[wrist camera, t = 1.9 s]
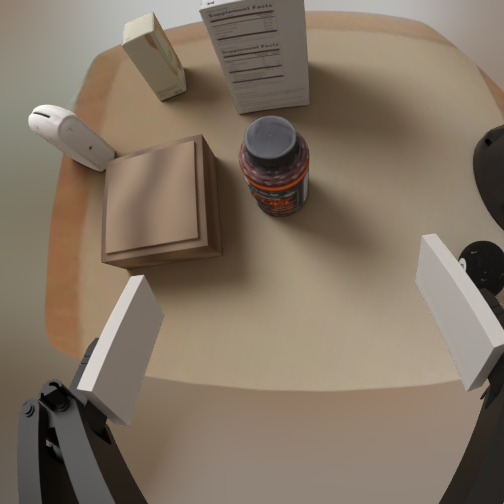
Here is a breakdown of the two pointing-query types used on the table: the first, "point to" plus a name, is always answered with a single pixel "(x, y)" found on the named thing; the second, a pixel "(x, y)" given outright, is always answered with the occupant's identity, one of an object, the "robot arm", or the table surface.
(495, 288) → the billiard ball
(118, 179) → the wooden box
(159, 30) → the skincare box
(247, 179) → the supplement bottle
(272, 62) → the supplement box
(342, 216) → the table surface
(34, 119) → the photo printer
